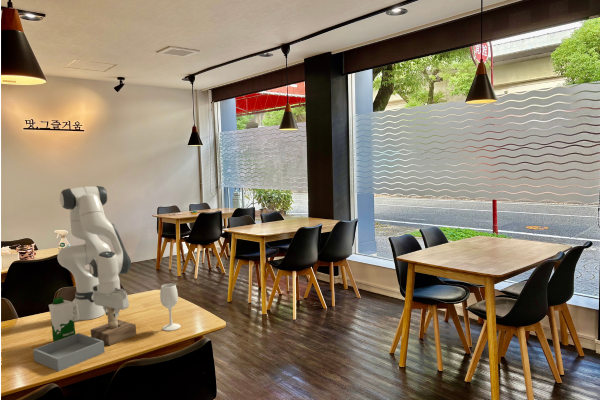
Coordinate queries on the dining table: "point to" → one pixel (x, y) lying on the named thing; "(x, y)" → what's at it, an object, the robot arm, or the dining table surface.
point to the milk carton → (62, 318)
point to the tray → (68, 351)
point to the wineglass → (169, 303)
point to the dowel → (111, 318)
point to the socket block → (114, 332)
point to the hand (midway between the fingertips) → (112, 316)
